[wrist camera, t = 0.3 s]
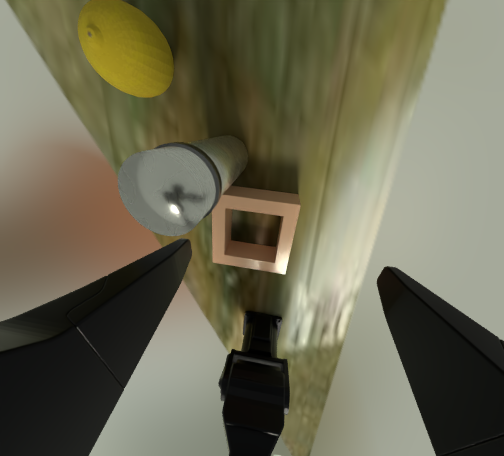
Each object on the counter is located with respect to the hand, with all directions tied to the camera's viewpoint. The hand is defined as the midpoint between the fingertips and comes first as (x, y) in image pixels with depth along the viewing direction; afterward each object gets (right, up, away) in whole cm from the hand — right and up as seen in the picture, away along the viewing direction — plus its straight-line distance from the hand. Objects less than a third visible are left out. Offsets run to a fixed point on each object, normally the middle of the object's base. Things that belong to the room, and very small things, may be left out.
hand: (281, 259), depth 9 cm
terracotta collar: (-1, +2, +16) cm, 16 cm away
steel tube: (-4, +10, +13) cm, 16 cm away
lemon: (-10, +17, +10) cm, 22 cm away
